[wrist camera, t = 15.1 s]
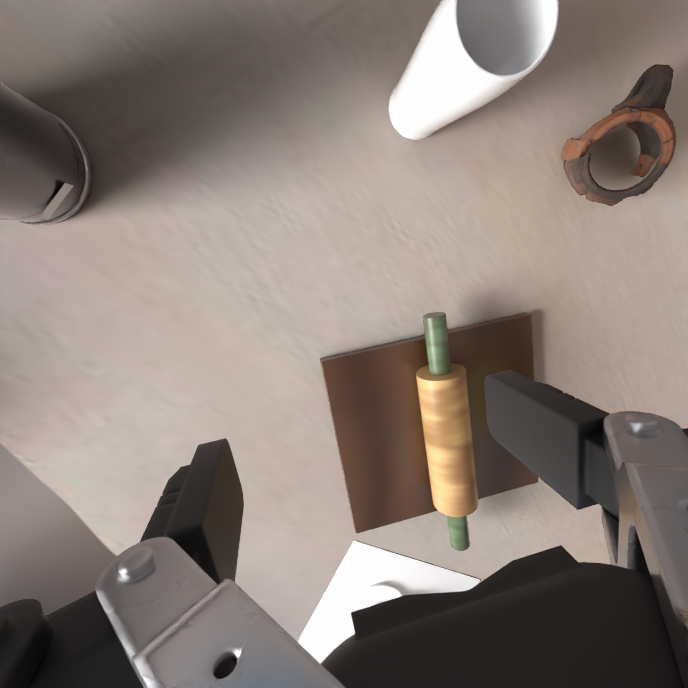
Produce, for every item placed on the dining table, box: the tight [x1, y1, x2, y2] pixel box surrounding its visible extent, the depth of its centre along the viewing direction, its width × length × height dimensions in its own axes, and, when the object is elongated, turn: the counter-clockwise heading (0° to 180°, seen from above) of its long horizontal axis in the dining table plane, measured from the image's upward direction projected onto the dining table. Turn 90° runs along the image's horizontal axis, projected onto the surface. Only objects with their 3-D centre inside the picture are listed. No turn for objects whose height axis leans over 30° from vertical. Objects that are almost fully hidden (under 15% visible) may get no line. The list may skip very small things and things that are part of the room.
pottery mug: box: [561, 64, 676, 206], centre depth 36 cm, size 12×10×8 cm
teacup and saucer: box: [345, 584, 403, 631], centre depth 47 cm, size 9×8×4 cm
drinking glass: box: [389, 0, 559, 140], centre depth 28 cm, size 7×7×15 cm
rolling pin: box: [416, 312, 478, 551], centre depth 40 cm, size 5×28×5 cm, turn 10°
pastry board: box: [320, 313, 538, 533], centre depth 43 cm, size 24×22×1 cm
